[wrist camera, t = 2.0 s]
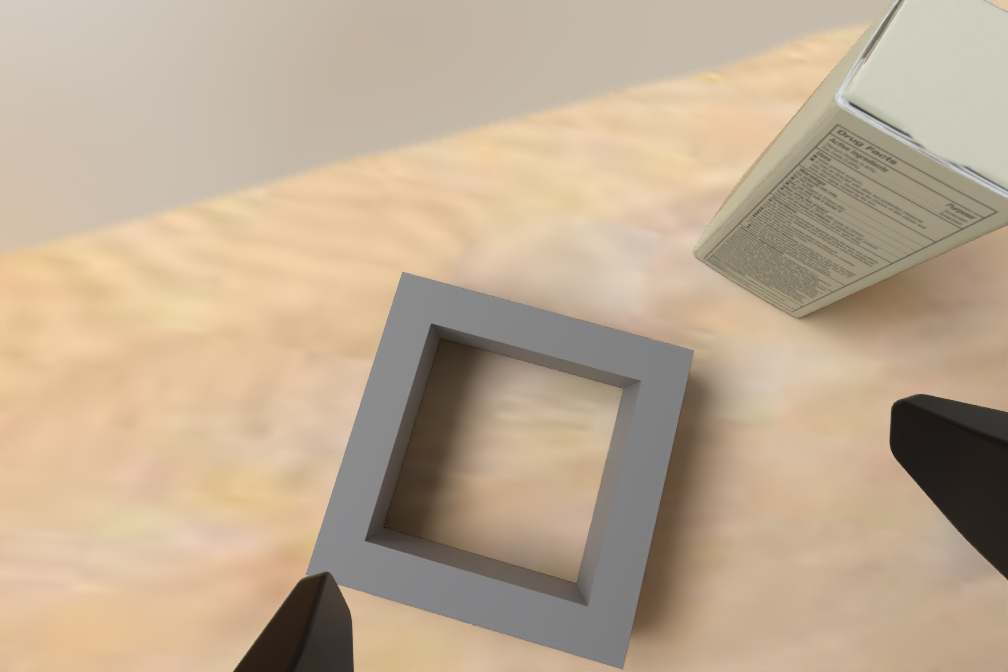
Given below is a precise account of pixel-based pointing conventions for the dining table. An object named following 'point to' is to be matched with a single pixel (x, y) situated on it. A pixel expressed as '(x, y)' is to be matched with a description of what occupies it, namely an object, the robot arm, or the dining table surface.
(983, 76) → the box
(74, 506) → the dining table surface
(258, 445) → the dining table surface
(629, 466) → the block
